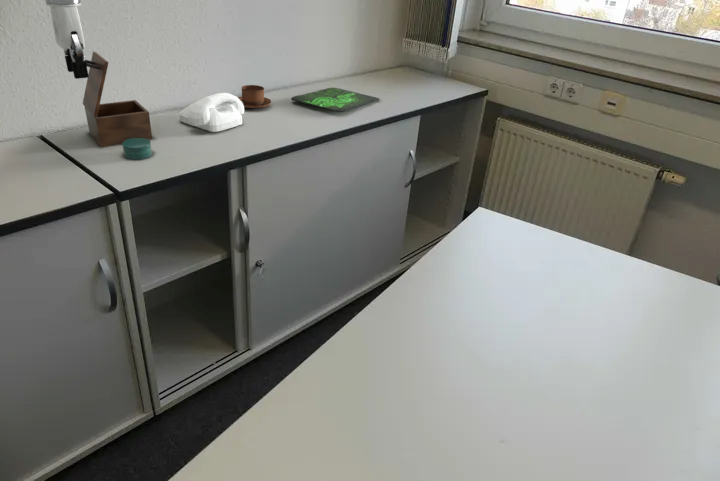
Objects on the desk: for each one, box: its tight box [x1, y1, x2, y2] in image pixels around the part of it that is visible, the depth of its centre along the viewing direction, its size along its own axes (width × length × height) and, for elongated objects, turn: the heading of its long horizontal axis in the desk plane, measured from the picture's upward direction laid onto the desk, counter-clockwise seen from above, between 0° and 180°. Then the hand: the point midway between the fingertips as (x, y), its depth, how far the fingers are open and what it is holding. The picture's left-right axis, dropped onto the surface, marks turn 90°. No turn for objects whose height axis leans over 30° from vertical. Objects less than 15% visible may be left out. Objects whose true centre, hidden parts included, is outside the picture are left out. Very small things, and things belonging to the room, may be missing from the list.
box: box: [83, 99, 153, 148], centre depth 149 cm, size 14×12×8 cm
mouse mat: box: [290, 87, 381, 113], centre depth 192 cm, size 27×22×1 cm
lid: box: [82, 51, 110, 117], centre depth 140 cm, size 14×12×6 cm
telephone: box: [178, 92, 245, 133], centre depth 163 cm, size 16×20×9 cm
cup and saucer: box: [237, 84, 272, 110], centre depth 180 cm, size 12×12×6 cm
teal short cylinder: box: [121, 138, 153, 161], centre depth 140 cm, size 7×7×3 cm
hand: (78, 73), depth 138 cm, fingers closed on lid, 6 cm apart
